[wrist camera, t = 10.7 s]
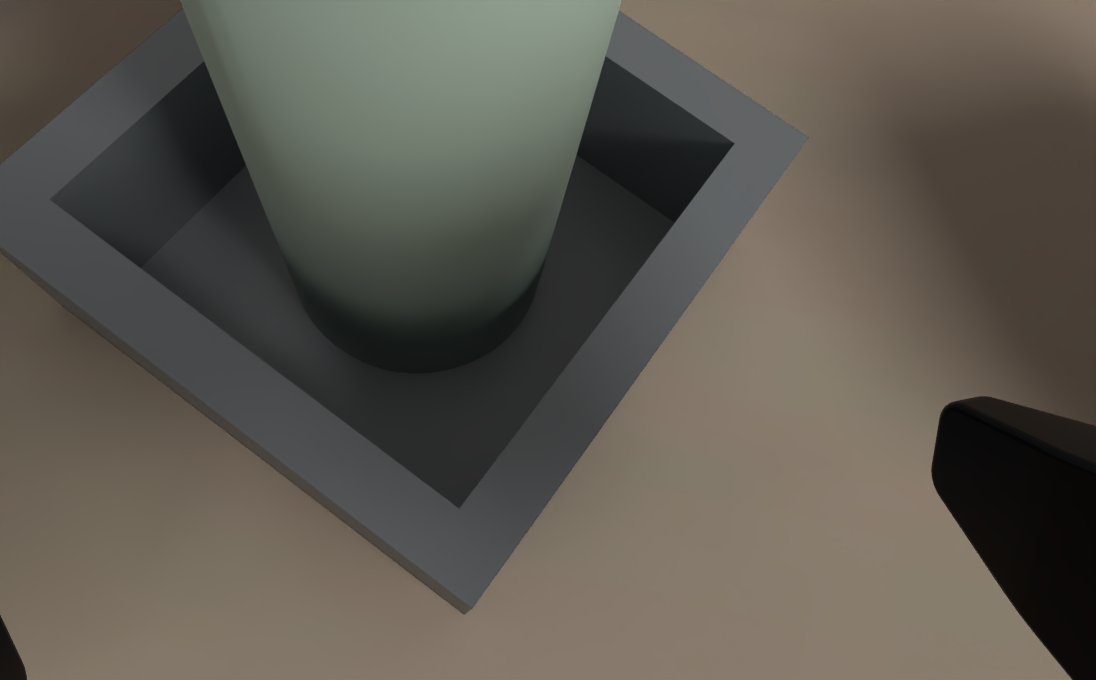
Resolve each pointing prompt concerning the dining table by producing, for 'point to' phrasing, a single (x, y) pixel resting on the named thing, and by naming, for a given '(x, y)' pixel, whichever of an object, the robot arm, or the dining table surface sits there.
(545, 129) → the sage peg
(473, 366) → the gray square tray
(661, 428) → the dining table surface
